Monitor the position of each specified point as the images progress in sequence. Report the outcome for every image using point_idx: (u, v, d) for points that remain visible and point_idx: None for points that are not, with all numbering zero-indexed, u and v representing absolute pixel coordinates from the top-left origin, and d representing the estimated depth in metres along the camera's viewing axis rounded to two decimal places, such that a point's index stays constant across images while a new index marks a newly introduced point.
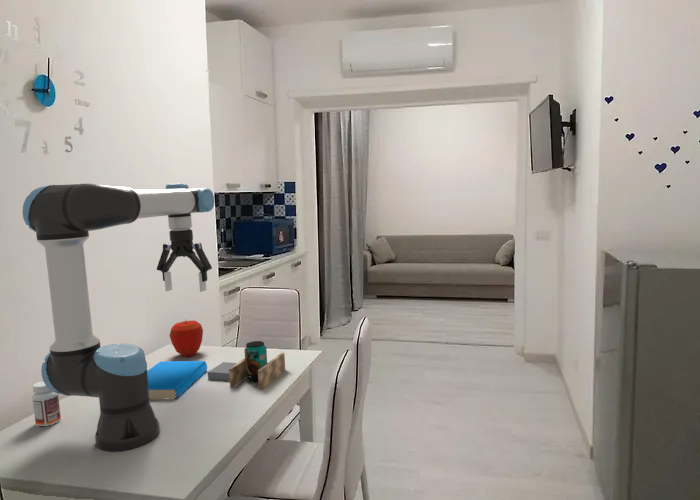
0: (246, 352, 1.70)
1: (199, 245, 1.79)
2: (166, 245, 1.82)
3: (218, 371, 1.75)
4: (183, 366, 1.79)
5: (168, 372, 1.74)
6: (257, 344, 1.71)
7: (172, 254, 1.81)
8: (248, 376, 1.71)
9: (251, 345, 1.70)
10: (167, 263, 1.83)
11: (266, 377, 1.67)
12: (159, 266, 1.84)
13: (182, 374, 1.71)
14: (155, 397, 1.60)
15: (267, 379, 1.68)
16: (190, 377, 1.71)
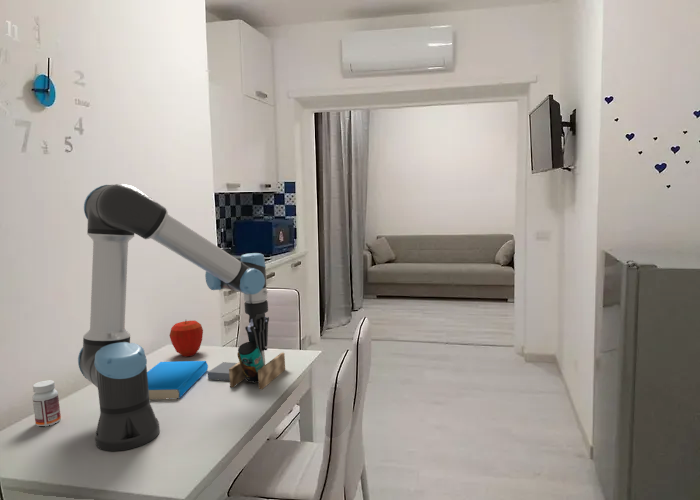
0: (239, 359, 1.66)
1: (248, 329, 1.68)
2: None
3: (218, 371, 1.75)
4: (184, 366, 1.79)
5: (169, 372, 1.74)
6: (249, 349, 1.66)
7: None
8: (246, 377, 1.69)
9: (243, 351, 1.65)
10: None
11: (266, 377, 1.67)
12: None
13: (184, 374, 1.71)
14: (158, 397, 1.60)
15: (267, 379, 1.68)
16: (192, 377, 1.71)
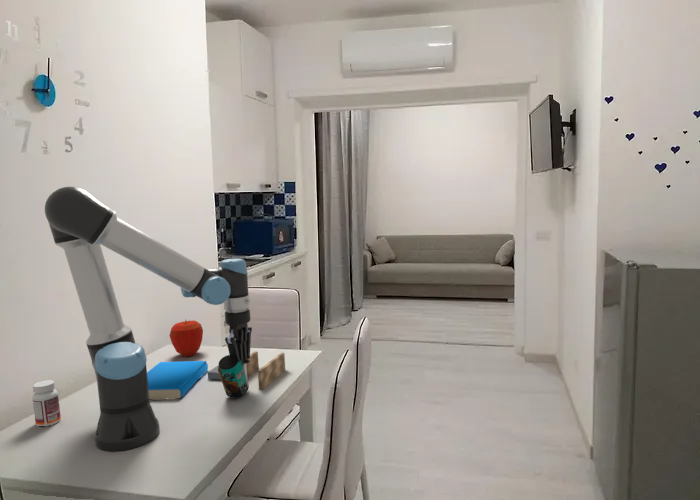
0: (220, 373, 1.53)
1: (228, 341, 1.56)
2: None
3: None
4: (184, 366, 1.79)
5: (170, 372, 1.73)
6: (231, 363, 1.53)
7: None
8: (227, 393, 1.57)
9: (224, 366, 1.53)
10: None
11: (266, 377, 1.67)
12: None
13: (184, 374, 1.71)
14: (159, 397, 1.60)
15: (267, 379, 1.68)
16: (193, 377, 1.71)
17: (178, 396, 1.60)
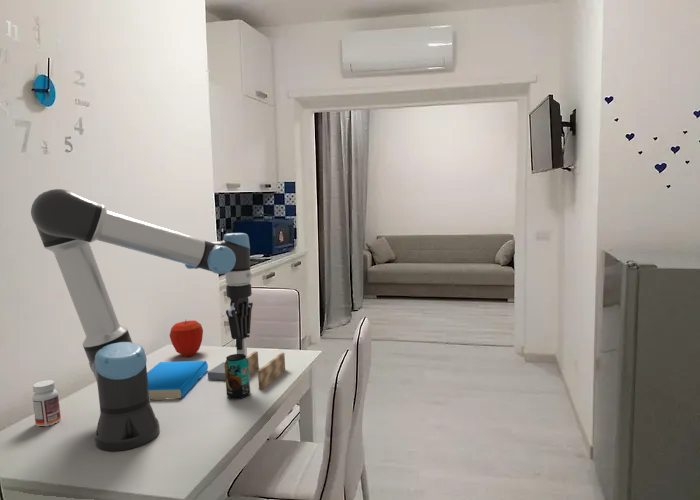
0: (226, 366, 1.57)
1: (229, 314, 1.57)
2: None
3: (218, 371, 1.75)
4: (184, 366, 1.79)
5: (170, 372, 1.73)
6: (238, 357, 1.59)
7: None
8: (228, 392, 1.58)
9: (232, 358, 1.58)
10: None
11: (266, 377, 1.67)
12: None
13: (185, 374, 1.71)
14: (160, 397, 1.60)
15: (267, 379, 1.68)
16: (193, 377, 1.71)
17: (179, 396, 1.60)
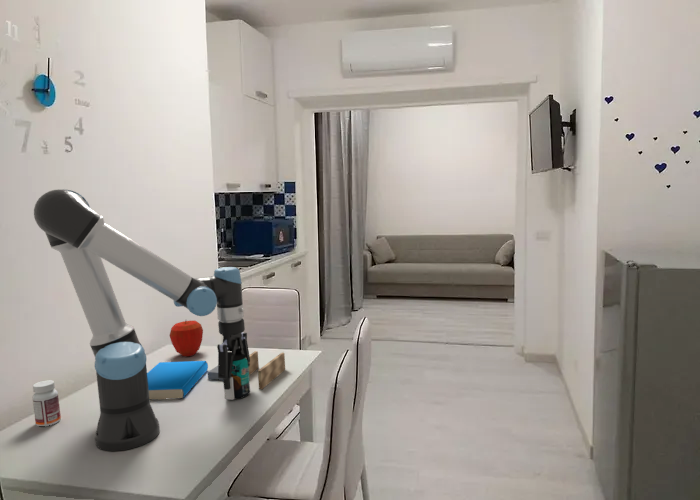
0: None
1: (220, 348, 1.52)
2: None
3: None
4: (184, 366, 1.79)
5: (171, 372, 1.73)
6: (238, 357, 1.58)
7: None
8: None
9: None
10: None
11: (266, 377, 1.67)
12: None
13: (186, 374, 1.71)
14: (161, 397, 1.60)
15: (267, 379, 1.68)
16: (194, 377, 1.71)
17: (181, 396, 1.60)
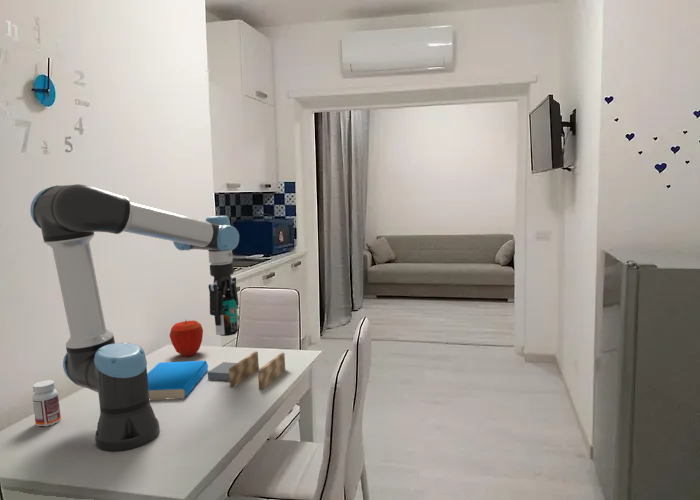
0: None
1: (211, 287, 1.69)
2: None
3: (218, 371, 1.75)
4: (185, 366, 1.79)
5: (171, 372, 1.73)
6: (227, 298, 1.75)
7: None
8: None
9: None
10: None
11: (266, 377, 1.67)
12: None
13: (186, 374, 1.71)
14: (163, 397, 1.60)
15: (267, 379, 1.68)
16: (195, 376, 1.71)
17: (182, 396, 1.60)
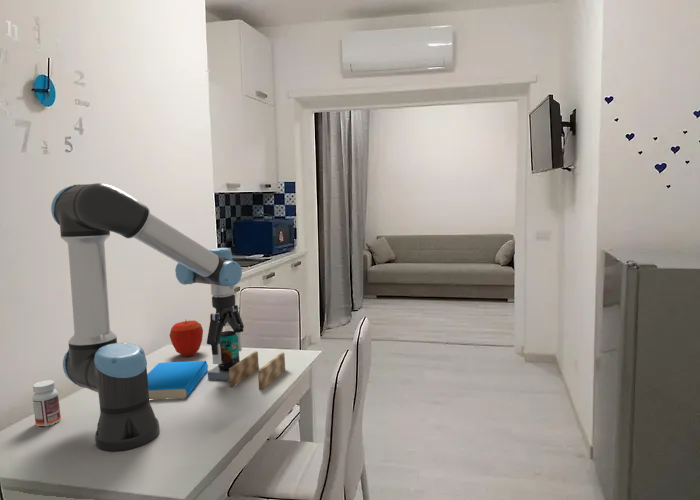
0: None
1: (213, 316, 1.70)
2: None
3: (218, 371, 1.75)
4: (185, 366, 1.79)
5: (172, 372, 1.73)
6: (229, 333, 1.76)
7: None
8: (220, 365, 1.75)
9: (223, 334, 1.75)
10: None
11: (266, 377, 1.67)
12: None
13: (187, 374, 1.71)
14: (165, 397, 1.60)
15: (267, 379, 1.68)
16: (196, 376, 1.71)
17: (184, 395, 1.60)
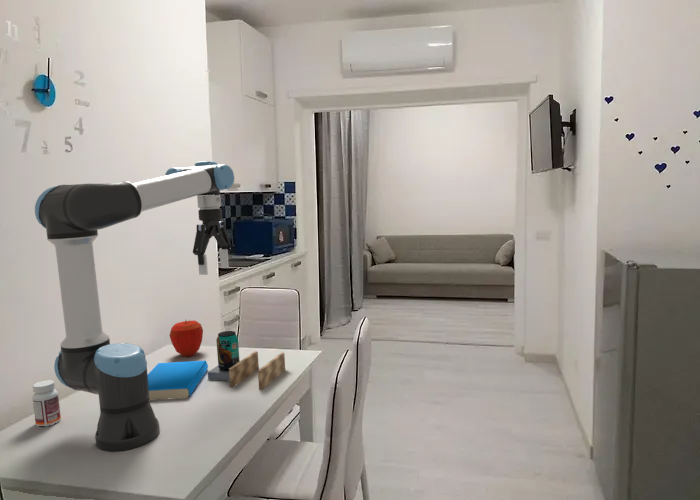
0: (218, 341, 1.74)
1: (199, 226, 1.72)
2: None
3: (218, 371, 1.75)
4: (185, 366, 1.79)
5: (172, 372, 1.73)
6: (229, 334, 1.76)
7: None
8: (220, 365, 1.75)
9: (223, 335, 1.75)
10: None
11: (266, 377, 1.67)
12: None
13: (188, 374, 1.71)
14: (167, 397, 1.60)
15: (267, 379, 1.68)
16: (197, 376, 1.71)
17: (186, 395, 1.60)
